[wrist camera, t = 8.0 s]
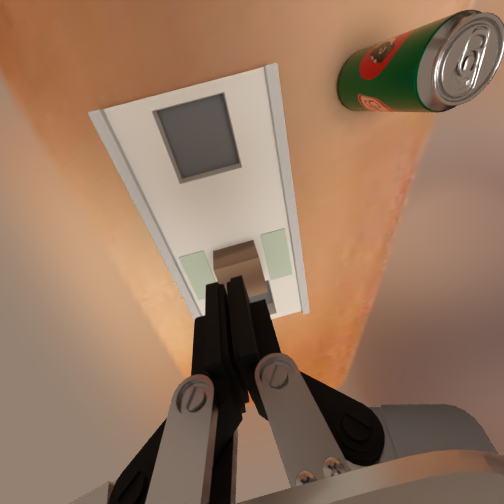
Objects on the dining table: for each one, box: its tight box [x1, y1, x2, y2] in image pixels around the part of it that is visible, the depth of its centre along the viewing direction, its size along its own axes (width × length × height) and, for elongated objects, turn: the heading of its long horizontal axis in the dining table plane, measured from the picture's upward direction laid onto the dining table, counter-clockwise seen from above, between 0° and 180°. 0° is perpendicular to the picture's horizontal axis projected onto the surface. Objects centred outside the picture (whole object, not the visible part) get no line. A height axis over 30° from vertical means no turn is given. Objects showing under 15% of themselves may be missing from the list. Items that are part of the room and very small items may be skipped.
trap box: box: [87, 63, 310, 320], centre depth 29 cm, size 30×16×3 cm, turn 13°
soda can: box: [339, 10, 504, 112], centre depth 19 cm, size 5×5×12 cm
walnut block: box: [213, 240, 268, 297], centre depth 28 cm, size 5×5×4 cm
